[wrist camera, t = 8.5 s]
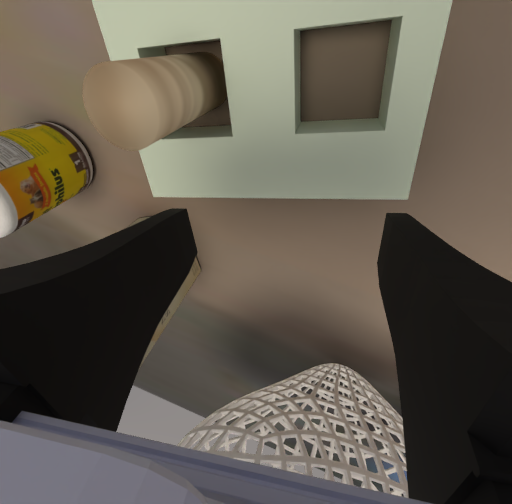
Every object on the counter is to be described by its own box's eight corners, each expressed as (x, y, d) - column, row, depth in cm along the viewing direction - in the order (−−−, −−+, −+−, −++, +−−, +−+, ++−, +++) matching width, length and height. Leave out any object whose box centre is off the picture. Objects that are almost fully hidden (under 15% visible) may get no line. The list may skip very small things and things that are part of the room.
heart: (517, 392, 28) (834, 1011, 10) (402, 440, 37) (462, 802, 19) (252, 261, 25) (63, 758, 8) (202, 348, 35) (66, 660, 17)
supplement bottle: (88, 201, 25) (-26, 276, 17) (28, 161, 24) (-124, 222, 16) (104, 151, 22) (-27, 214, 14) (36, 102, 21) (-149, 141, 13)
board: (454, -103, 12) (483, -139, 10) (398, 179, 19) (407, 199, 16) (115, -35, 16) (76, -49, 13) (172, 180, 22) (153, 196, 20)
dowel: (229, 53, 17) (150, 64, 10) (230, 110, 19) (164, 154, 11) (180, 50, 17) (71, 59, 10) (185, 106, 19) (96, 147, 12)
